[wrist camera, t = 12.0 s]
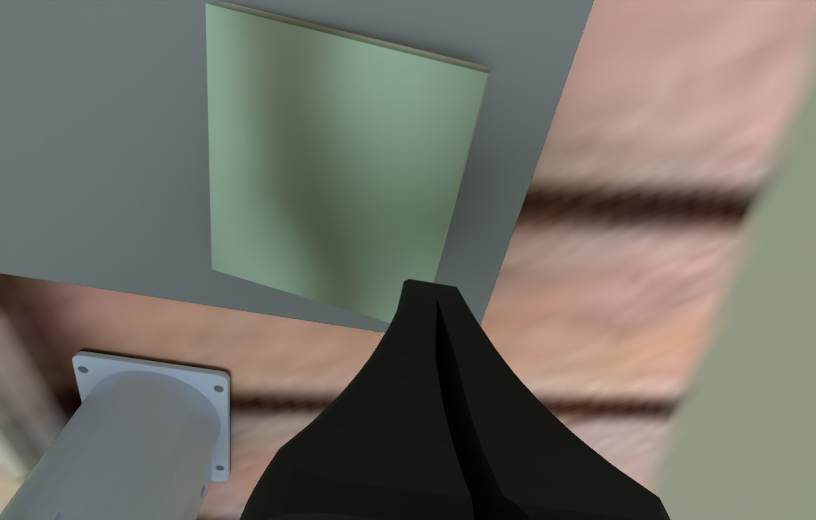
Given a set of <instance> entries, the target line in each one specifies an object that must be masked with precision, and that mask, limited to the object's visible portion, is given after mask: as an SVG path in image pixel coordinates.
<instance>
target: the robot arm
mask: <svg viewBox="0 0 816 520" xmlns="http://www.w3.org/2000/svg"><path fill="white" fill-rule="evenodd" d="M72 362H73V367H74V371H75V375H76V380H77V384H78V388H79V393H80V397H81V401H82V404H81V405H80V407H79V408H78V410H77V411H76V412H75V414H74V415H73V416H72V418H71V419H70V420H69V422H68V423H67V424H66V426H65V427H64V428H63V430H62V431H61V433H60V434H59V435H58V437H57V438H56V439H55V441H54V442H53V443H52V445H51V446H50V447H49V449H48V450H47V451H46V453H45V454H44V456H43V457H42V458H41V460H40V461H39V462H38V464H37V465H36V466H35V468H34V469H33V470H32V472H31V473H30V475H29V476H28V477H27V479H26V480H25V481H24V483H23V484H22V485H21V487H20V488H19V489H18V491H17V492H16V494H15V495H14V496H13V498H12V499H11V500H10V502H9V503H8V504H7V506H6V507H5V508H4V510H3V511H2V513H1V514H0V520H196V518H197V516H198V513H199V510H200V508H201V505H202V503H203V500H204V497H205V495H206V492H207V490H208V487H209V484H210V482H211V481H215V482H225V481H227V480H228V478H229V475H230V377H229V375H228V374H227V373H225V372H223V371H218V370H211V369H204V368H197V367H190V366H183V365H176V364H169V363H162V362H155V361H148V360H141V359H134V358H127V357H120V356H113V355H106V354H99V353H92V352H85V351H80V352H77V353H76V355H75V356H74V357H73V358H72ZM218 385H219V386H218ZM220 386H221V387H220ZM240 520H670V518H669V516H668V514H667V512H666V510H665V508H664V506H663V504H662V502H661V500H660V498H659V497H657V496H656V495H655V494H653V493H652V492H650V491H649V490H647V489H646V488H645V487H643V486H642V485H640V484H639V483H637V482H636V481H635V480H633V479H632V478H630V477H629V476H627V475H626V474H624V473H623V472H622V471H620V470H619V469H617V468H616V467H615V466H613V465H612V464H611V463H609V462H608V461H607V460H605V459H604V458H603V457H602V456H600V455H599V454H598V453H597V452H595V451H594V450H593V449H592V448H590V447H589V446H588V445H587V444H585V443H584V442H583V441H582V440H581V439H579V438H578V437H577V436H576V435H575V434H574V433H572V432H571V431H570V430H569V429H568V428H567V427H566V426H565V425H564V424H563V423H561V422H560V421H559V420H558V419H557V418H556V417H555V416H554V415H553V414H552V413H551V412H550V411H549V410H548V409H547V408H546V407H545V406H544V405H543V404H542V403H541V402H540V401H539V400H538V399H537V398H536V397H535V396H534V395H533V394H532V393H531V392H530V390H529V389H528V388H527V387H526V386H525V385H524V384H523V383H522V382H521V381H520V379H519V378H518V377H517V376H516V375H515V374H514V372H513V371H512V370H511V369H510V367H509V366H508V365H507V363H506V362H505V361H504V360H503V358H502V357H501V356H500V354H499V353H498V352H497V350H496V349H495V347H494V346H493V344H492V343H491V341H490V340H489V338H488V337H487V335H486V334H485V332H484V331H483V329H482V328H481V326H480V325H479V323H478V322H477V320H476V318H475V317H474V315H473V313H472V312H471V310H470V308H469V307H468V305H467V303H466V302H465V300H464V298H463V296H462V295H461V293H460V291H459V290H458V288H457V287H455V286H449V285H443V284H437V283H431V282H425V281H419V280H413V279H408V280H406V281H404V282H403V286H402V291H401V295H400V299H399V304H398V308H397V311H396V313H395V315H394V317H393V320H392V322H391V324H390V326H389V328H388V330H387V331H386V333H385V335H384V336H383V338H382V340H381V341H380V343H379V345H378V346H377V348H376V349H375V351H374V352H373V354H372V355H371V357H370V358H369V360H368V361H367V362H366V364H365V365H364V366H363V368H362V369H361V370H360V372H359V373H358V374H357V375H356V377H355V378H354V379H353V380H352V381H351V383H350V384H349V385H348V386H347V387H346V388H345V390H344V391H343V392H342V393H341V394H340V395H339V396H338V397H337V398H336V399H335V400H334V401H333V402H332V403H331V404H330V405H329V406H328V407H327V408H326V409H325V410H324V411H323V412H322V413H321V414H320V415H319V416H318V417H317V418H316V419H315V420H314V421H312V422H311V423H310V424H309V425H308V426H307V427H306V428H304V429H303V430H302V431H301V432H299V433H298V434H297V435H296V436H294V437H293V438H292V439H291V440H289V441H288V442H287V443H286V444H285V445H283V446H282V447H281V448H280V449H279V450H278V452H277V453H276V455H275V456H274V458H273V459H272V461H271V462H270V464H269V465H268V467H267V468H266V470H265V471H264V473H263V475H262V476H261V478H260V479H259V481H258V483H257V484H256V486H255V488H254V490H253V492H252V494H251V495H250V497H249V499H248V501H247V504H246V506H245V508H244V511H243V513H242V515H241V518H240Z"/></svg>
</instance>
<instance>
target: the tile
mask: <svg viewBox="0 0 816 520" xmlns="http://www.w3.org/2000/svg"><path fill="white" fill-rule="evenodd" d="M205 4H206V46H207V89H208V132H209V175H210V218H211V260H212V270H216V271H219V272H222V273H226V274H229V275H232V276H236V277H239V278H242V279H246V280H249V281H252V282H255V283H259V284H262V285H265V286H269V287H272V288H275V289H279V290H282V291H285V292H289V293H292V294H295V295H299V296H302V297H305V298H308V299H312V300H315V301H318V302H322V303H325V304H328V305H332V306H335V307H338V308H342V309H345V310H348V311H352V312H355V313H358V314H361V315H365V316H368V317H371V318H375V319H378V320H381V321H385V322H388V323H391V322H392V320H393V317H394V315H395V313H396V311H397V308H398V304H399V299H400V295H401V291H402V286H403V282H404V281H406V280H408V279H413V280H419V281H425V282H431V283H434V280H435V276H436V272H437V269H438V265H439V261H440V257H441V254H442V250H443V246H444V243H445V239H446V235H447V231H448V228H449V224H450V220H451V216H452V213H453V209H454V205H455V202H456V198H457V194H458V190H459V187H460V183H461V179H462V176H463V172H464V168H465V164H466V161H467V157H468V153H469V150H470V146H471V142H472V138H473V135H474V131H475V127H476V124H477V120H478V116H479V112H480V109H481V105H482V101H483V97H484V94H485V90H486V86H487V83H488V79H489V75H490V71H491V68H492V67H488V66H483V65H479V64H475V63H471V62H467V61H463V60H459V59H455V58H451V57H447V56H443V55H439V54H435V53H431V52H427V51H423V50H419V49H415V48H410V47H406V46H402V45H398V44H394V43H390V42H386V41H382V40H378V39H374V38H370V37H366V36H362V35H358V34H354V33H350V32H346V31H342V30H338V29H333V28H329V27H325V26H321V25H317V24H313V23H309V22H305V21H301V20H297V19H293V18H289V17H285V16H281V15H277V14H273V13H269V12H265V11H260V10H256V9H252V8H248V7H244V6H240V5H236V4H232V3H228V2H220V3H205Z"/></svg>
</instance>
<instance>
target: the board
mask: <svg viewBox="0 0 816 520" xmlns="http://www.w3.org/2000/svg"><path fill="white" fill-rule="evenodd" d="M220 2H228V3H232V4H236V5H240V6H244V7H248V8H252V9H256V10H260V11H265V12H269V13H273V14H277V15H281V16H285V17H289V18H293V19H297V20H301V21H305V22H309V23H313V24H317V25H321V26H325V27H329V28H333V29H338V30H342V31H346V32H350V33H354V34H358V35H362V36H366V37H370V38H374V39H378V40H382V41H386V42H390V43H394V44H398V45H402V46H406V47H410V48H415V49H419V50H423V51H427V52H431V53H435V54H439V55H443V56H447V57H451V58H455V59H459V60H463V61H467V62H471V63H475V64H479V65H483V66H488V67H492V68H491V71H490V75H489V79H488V83H487V86H486V90H485V94H484V97H483V101H482V105H481V109H480V112H479V116H478V120H477V124H476V127H475V131H474V135H473V138H472V142H471V146H470V150H469V153H468V157H467V161H466V164H465V168H464V172H463V176H462V179H461V183H460V187H459V190H458V194H457V198H456V202H455V205H454V209H453V213H452V216H451V220H450V224H449V228H448V231H447V235H446V239H445V243H444V246H443V250H442V254H441V257H440V261H439V265H438V269H437V272H436V276H435V280H434V283H437V284H443V285H449V286H455V287H457V288H458V290H459V291H460V293H461V295H462V296H463V298H464V300H465V302H466V303H467V305H468V307H469V308H470V310H471V312H472V313H473V315H474V317H475V318H476V320H477V322H478V323H479V325H481V322H482V319H483V316H484V313H485V310H486V308H487V305H488V302H489V299H490V296H491V293H492V290H493V288H494V285H495V282H496V279H497V276H498V273H499V270H500V268H501V265H502V262H503V259H504V256H505V253H506V250H507V248H508V245H509V242H510V239H511V236H512V233H513V230H514V228H515V225H516V222H517V219H518V216H519V213H520V210H521V208H522V205H523V202H524V199H525V196H526V193H527V190H528V188H529V185H530V182H531V179H532V176H533V173H534V170H535V168H536V165H537V162H538V159H539V156H540V153H541V150H542V148H543V145H544V142H545V139H546V136H547V133H548V130H549V128H550V125H551V122H552V119H553V116H554V113H555V110H556V108H557V105H558V102H559V99H560V96H561V93H562V90H563V88H564V85H565V82H566V79H567V76H568V73H569V70H570V68H571V65H572V62H573V59H574V56H575V53H576V50H577V48H578V45H579V42H580V39H581V36H582V33H583V30H584V28H585V25H586V22H587V19H588V16H589V13H590V11H591V8H592V5H593V2H594V0H0V273H3V274H9V275H16V276H22V277H29V278H35V279H42V280H48V281H54V282H61V283H67V284H74V285H80V286H87V287H93V288H100V289H106V290H112V291H119V292H125V293H132V294H138V295H145V296H151V297H158V298H164V299H171V300H177V301H183V302H190V303H196V304H203V305H209V306H216V307H222V308H229V309H235V310H242V311H248V312H254V313H261V314H267V315H274V316H280V317H287V318H293V319H300V320H306V321H313V322H319V323H325V324H332V325H338V326H345V327H351V328H358V329H364V330H371V331H377V332H384V333H386V331H387V330H388V328H389V326H390V324H391V323H388V322H385V321H381V320H378V319H375V318H371V317H368V316H365V315H361V314H358V313H355V312H352V311H348V310H345V309H342V308H338V307H335V306H332V305H328V304H325V303H322V302H318V301H315V300H312V299H308V298H305V297H302V296H299V295H295V294H292V293H289V292H285V291H282V290H279V289H275V288H272V287H269V286H265V285H262V284H259V283H255V282H252V281H249V280H246V279H242V278H239V277H236V276H232V275H229V274H226V273H222V272H219V271H216V270H212V260H211V218H210V175H209V132H208V89H207V46H206V4H205V3H220Z"/></svg>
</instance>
